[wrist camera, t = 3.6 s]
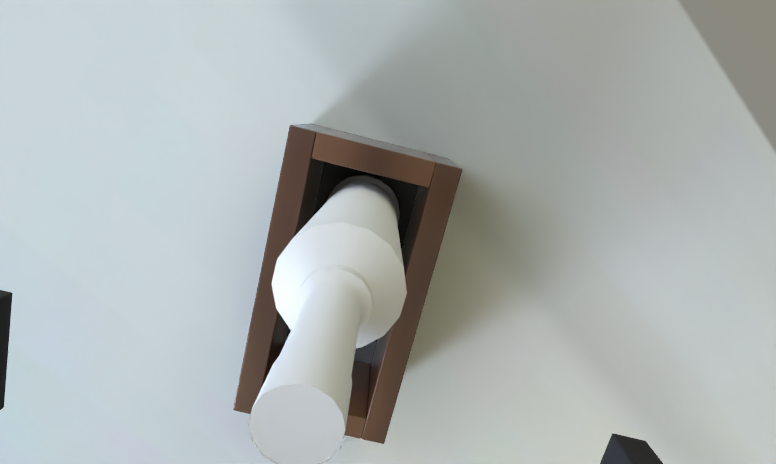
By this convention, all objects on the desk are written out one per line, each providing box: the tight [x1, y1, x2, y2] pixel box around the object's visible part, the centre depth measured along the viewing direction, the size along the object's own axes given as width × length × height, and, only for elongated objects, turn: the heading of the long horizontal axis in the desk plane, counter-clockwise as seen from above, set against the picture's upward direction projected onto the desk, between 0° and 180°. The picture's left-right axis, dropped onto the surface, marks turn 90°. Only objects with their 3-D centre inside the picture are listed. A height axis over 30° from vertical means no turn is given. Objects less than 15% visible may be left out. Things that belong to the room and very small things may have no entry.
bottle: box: [248, 175, 407, 464], centre depth 22 cm, size 5×5×25 cm
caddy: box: [234, 124, 462, 444], centre depth 32 cm, size 10×18×7 cm, turn 166°
